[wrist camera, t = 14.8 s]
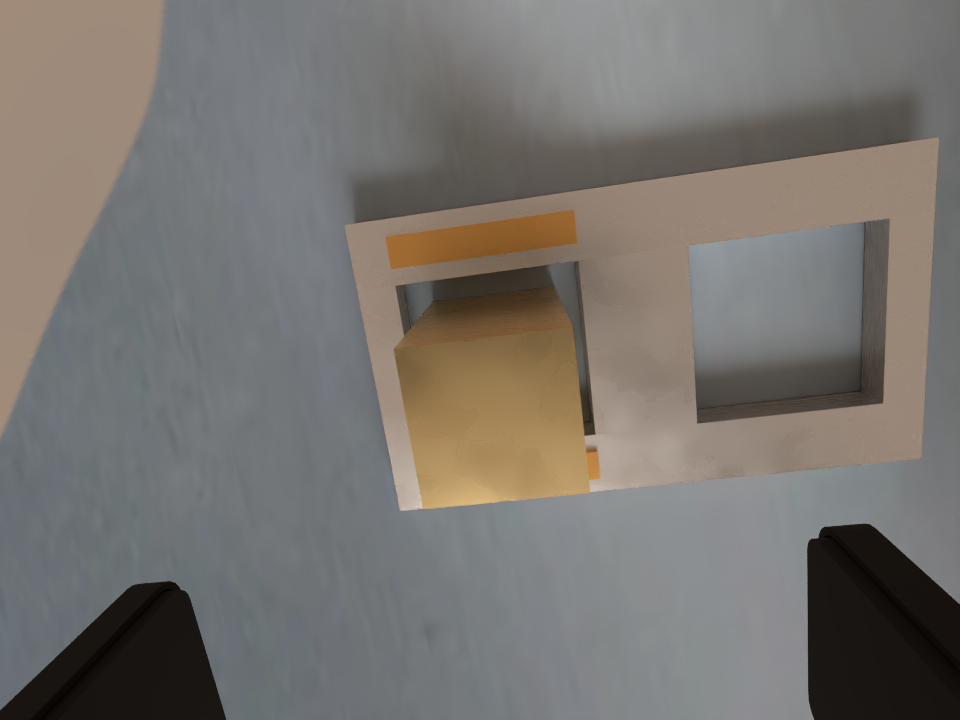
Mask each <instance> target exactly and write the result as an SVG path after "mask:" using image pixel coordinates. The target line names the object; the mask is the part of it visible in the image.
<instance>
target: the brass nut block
mask: <svg viewBox="0 0 960 720" xmlns="http://www.w3.org/2000/svg"><path fill="white" fill-rule="evenodd" d="M393 350H394V355H395V360H396V366H397V371H398V377H399V382H400V387H401V393H402V398H403V404H404V409H405V414H406V420H407V425H408V431H409V436H410V441H411V447H412V452H413V458H414V463H415V469H416V474H417V479H418V485H419V490H420V496H421V501H422V506H423V509H432V508H442V507H452V506H462V505H472V504H482V503H492V502H502V501H512V500H523V499H533V498H543V497H553V496H563V495H573V494H583V493H590V485H589V475H588V465H587V456H586V446H585V436H584V427H583V417H582V407H581V397H580V388H579V378H578V368H577V359H576V349H575V339H574V329H573V325H572V323H571V321H570V319H569V317H568V315H567V313H566V310H565V308H564V306H563V304H562V302H561V300H560V298H559V296H558V294H557V291H556V289H555V287H554V286H550V287H542V288H535V289H527V290H520V291H512V292H505V293H497V294H490V295H482V296H474V297H467V298H459V299H452V300H444V301H437V302H432V303H431V304H430V306H429V307H428V308H427V309H426V311H425V312H424V313H423V314H422V315H421V317H420V318H419V319H418V320H417V321H416V323H415V324H414V325H413V326H412V328H411V329H410V330H409V331H408V332H407V334H406V335H405V336H404V337H403V338H402V340H401V341H400V342H399V343H398V344H397V346H396V347H395V348H394V349H393Z"/></svg>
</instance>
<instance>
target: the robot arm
mask: <svg viewBox="0 0 960 720" xmlns="http://www.w3.org/2000/svg"><path fill="white" fill-rule="evenodd" d="M807 568H808V695H809V703H810V708H811V711H812V715H813V717H814V720H960V604H959V603H957V602H956V601H955V600H954V599H953V598H952V597H951V596H950V595H949V594H948V593H946V592H945V591H944V590H943V589H942V588H941V587H940V586H939V585H938V584H936V583H935V582H934V581H933V580H932V579H931V578H930V577H929V576H928V575H927V574H925V573H924V572H923V571H922V570H921V569H920V568H919V567H918V566H917V565H915V564H914V563H913V562H912V561H911V560H910V559H909V558H908V557H907V556H906V555H904V554H903V553H902V552H901V551H900V550H899V549H898V548H897V547H896V546H894V545H893V544H892V543H891V542H890V541H889V540H888V539H887V538H886V537H885V536H883V535H882V534H881V533H880V532H879V531H878V530H877V529H876V528H874V527H873V526H871V525H870V524H855V525H843V526H831V527H824V528H822V529H821V531H820V534H819V538H816V539H811V540H809V543H808V548H807ZM0 720H226V717H225V714H224V710H223V707H222V704H221V700H220V697H219V694H218V690H217V687H216V684H215V680H214V677H213V674H212V670H211V667H210V664H209V660H208V657H207V654H206V650H205V647H204V644H203V640H202V637H201V634H200V630H199V627H198V623H197V620H196V617H195V613H194V610H193V607H192V603H191V600H190V597H189V595H188V594H187V593H186V592H185V591H183V590H180V588H179V586H178V585H177V584H176V583H174V582H171V581H168V582H156V583H144V584H136V585H133V586H131V587H130V588H128V589H127V590H126V591H125V592H124V593H123V594H122V595H121V596H120V597H119V598H118V599H117V600H116V601H115V602H113V603H112V604H111V605H110V606H109V607H108V608H107V609H106V610H105V611H104V612H103V613H102V614H101V615H100V616H99V617H98V618H97V619H96V620H95V621H94V622H92V623H91V624H90V625H89V626H88V627H87V628H86V629H85V630H84V631H83V632H82V633H81V634H80V635H79V636H78V637H77V638H76V639H75V640H74V641H73V642H72V643H70V644H69V645H68V646H67V647H66V648H65V649H64V650H63V651H62V652H61V653H60V654H59V655H58V656H57V657H56V658H55V659H54V660H53V661H52V662H51V663H50V664H48V665H47V666H46V667H45V668H44V669H43V670H42V671H41V672H40V673H39V674H38V675H37V676H36V677H35V678H34V679H33V680H32V681H31V682H30V683H29V684H28V685H26V686H25V687H24V688H23V689H22V690H21V691H20V692H19V693H18V694H17V695H16V696H15V697H14V698H13V699H12V700H11V701H10V702H9V703H8V704H7V705H6V706H4V707H3V708H2V709H1V710H0Z"/></svg>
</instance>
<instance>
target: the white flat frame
mask: <svg viewBox="0 0 960 720" xmlns="http://www.w3.org/2000/svg"><path fill="white" fill-rule="evenodd" d="M938 145H939V137H937V138H931V139H924V140H917V141H910V142H904V143H897V144H890V145H883V146H876V147H870V148H863V149H856V150H849V151H843V152H836V153H829V154H822V155H816V156H809V157H802V158H795V159H788V160H782V161H775V162H768V163H761V164H755V165H748V166H741V167H734V168H727V169H721V170H714V171H707V172H700V173H694V174H687V175H680V176H673V177H666V178H660V179H653V180H646V181H639V182H633V183H626V184H619V185H612V186H605V187H599V188H592V189H585V190H578V191H572V192H565V193H558V194H551V195H544V196H538V197H531V198H524V199H517V200H511V201H504V202H497V203H490V204H483V205H477V206H470V207H463V208H456V209H450V210H443V211H436V212H429V213H422V214H416V215H409V216H402V217H395V218H389V219H382V220H375V221H368V222H361V223H355V224H348V225H344V226H345V231H346V236H347V241H348V246H349V252H350V257H351V262H352V267H353V272H354V277H355V282H356V287H357V292H358V297H359V302H360V308H361V313H362V318H363V323H364V328H365V333H366V338H367V343H368V348H369V353H370V358H371V364H372V369H373V374H374V379H375V384H376V389H377V394H378V399H379V404H380V409H381V414H382V420H383V425H384V430H385V435H386V440H387V445H388V450H389V455H390V460H391V465H392V470H393V476H394V481H395V486H396V491H397V496H398V501H399V506H400V511H403V510H413V509H423V506H422V501H421V496H420V490H419V485H418V479H417V474H416V469H415V463H414V458H413V452H412V447H411V441H410V436H409V431H408V425H407V420H406V414H405V409H404V404H403V398H402V393H401V387H400V382H399V377H398V371H397V366H396V360H395V355H394V350H393V349H394V348H395V347H396V346H397V344H398V343H399V342H400V341H401V340H402V338H403V337H404V336H405V335H406V334H407V332H408V331H409V330H410V329H411V326H410V321H409V315H408V309H407V304H406V298H405V292H404V287H403V285H404V284H412V283H419V282H426V281H433V280H441V279H448V278H455V277H463V276H470V275H477V274H485V273H492V272H499V271H507V270H514V269H521V268H529V267H536V266H543V265H551V264H558V263H565V262H573V261H575V267H576V277H577V287H578V297H579V307H580V317H581V327H582V337H583V347H584V357H585V367H586V377H587V387H588V397H589V407H590V417H591V421H588V422H583V427H584V436H585V446H586V456H587V465H588V475H589V485H590V492H593V491H603V490H613V489H623V488H634V487H644V486H654V485H664V484H674V483H684V482H694V481H704V480H714V479H724V478H734V477H744V476H754V475H764V474H774V473H784V472H794V471H804V470H814V469H824V468H834V467H844V466H854V465H864V464H874V463H884V462H894V461H904V460H914V459H921V454H922V436H923V418H924V399H925V381H926V363H927V345H928V327H929V308H930V290H931V272H932V254H933V236H934V217H935V199H936V181H937V163H938ZM859 222H865V248H864V288H863V327H862V366H861V391H859V392H850V393H841V394H832V395H823V396H814V397H805V398H796V399H787V400H778V401H769V402H760V403H751V404H742V405H733V406H724V407H715V408H706V409H697V408H696V388H695V368H694V348H693V329H692V309H691V289H690V269H689V249H688V246H690V245H697V244H705V243H712V242H719V241H727V240H734V239H741V238H749V237H756V236H763V235H771V234H778V233H785V232H793V231H800V230H807V229H815V228H822V227H829V226H837V225H844V224H851V223H859Z"/></svg>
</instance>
